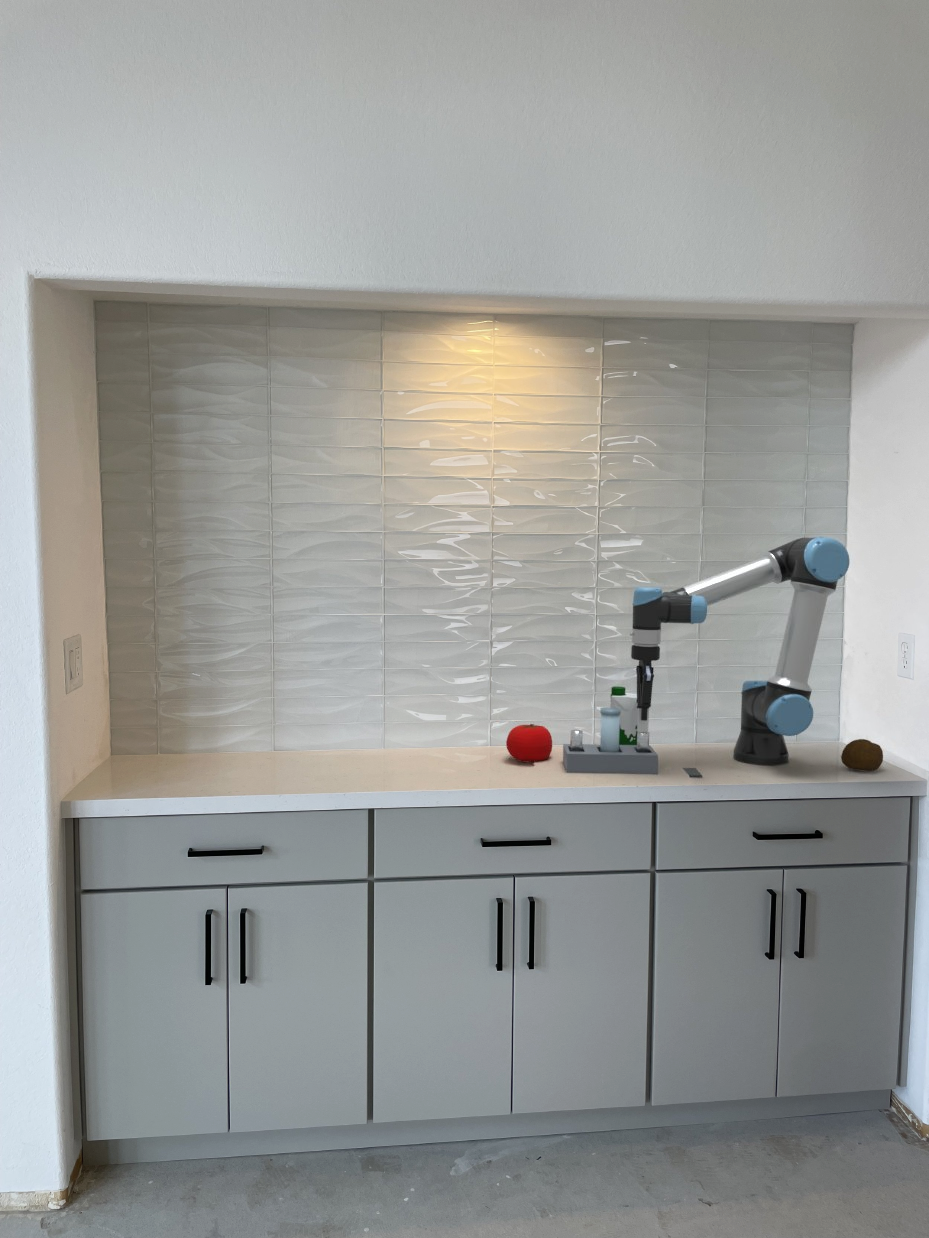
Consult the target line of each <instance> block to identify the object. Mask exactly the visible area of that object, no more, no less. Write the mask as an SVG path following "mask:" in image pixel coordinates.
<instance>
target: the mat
mask: <svg viewBox="0 0 929 1238" xmlns="http://www.w3.org/2000/svg"><path fill="white" fill-rule="evenodd" d="M682 769H683V771H684V772H685V774H687V775H688V776H689V778H699V779H701V778H703V775H702V773H701V772H700V771H699V770H698V769H697V768H696V767H682Z"/></svg>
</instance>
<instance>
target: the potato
mask: <svg viewBox="0 0 929 1238" xmlns="http://www.w3.org/2000/svg"><path fill="white" fill-rule="evenodd" d="M883 751H884V750H883V749H882V748H881V746H880V744H878V743H875V742H872V741H871V740H868V739H865V738H859V739H854V740H851V741H850V742H848V743H847V744H846V745H845V747H844V748H843V749H842V752H841V755H840V760H841V763H842V764H843V765H844V766H845V767H846V768H848V769H852V770H855V771H864V772H871V771H872V772H873V771H876V770H878V769H880V767H881V766H882V764H883V762H884V752H883Z"/></svg>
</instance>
